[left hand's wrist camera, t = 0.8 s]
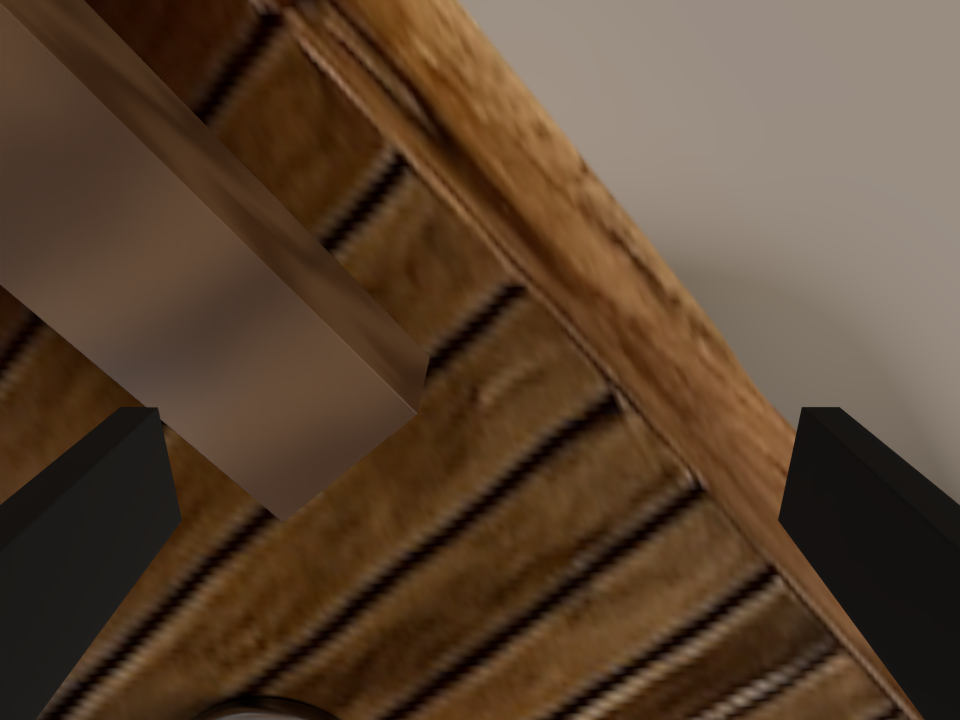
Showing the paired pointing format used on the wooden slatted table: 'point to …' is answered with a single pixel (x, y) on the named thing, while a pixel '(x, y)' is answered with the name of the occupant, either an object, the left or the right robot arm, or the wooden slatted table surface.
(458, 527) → the wooden slatted table surface
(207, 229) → the beam
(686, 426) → the wooden slatted table surface
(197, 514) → the wooden slatted table surface
